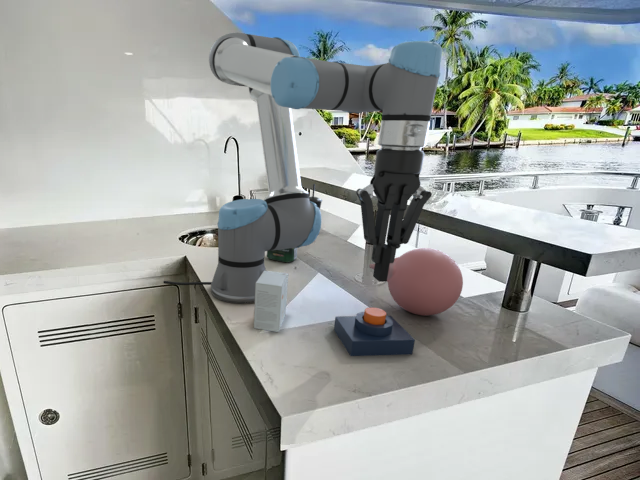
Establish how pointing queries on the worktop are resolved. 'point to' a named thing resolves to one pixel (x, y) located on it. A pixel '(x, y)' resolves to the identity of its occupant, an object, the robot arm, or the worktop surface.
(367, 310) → the orange button cap
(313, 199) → the drinking cup
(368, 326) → the push button
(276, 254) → the coffee jar
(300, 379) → the worktop surface
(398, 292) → the balloon
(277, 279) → the small box
